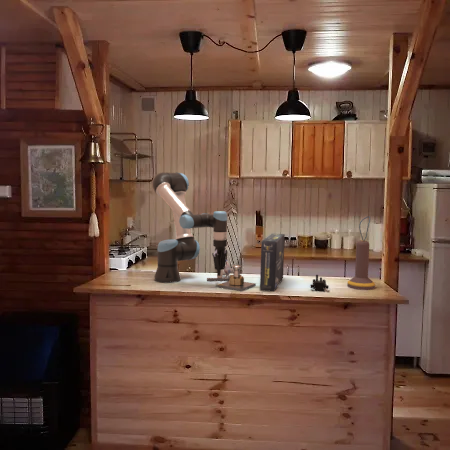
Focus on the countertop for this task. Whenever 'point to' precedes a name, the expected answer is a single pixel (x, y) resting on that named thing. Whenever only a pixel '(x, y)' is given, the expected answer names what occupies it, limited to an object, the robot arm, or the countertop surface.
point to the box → (272, 262)
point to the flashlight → (362, 266)
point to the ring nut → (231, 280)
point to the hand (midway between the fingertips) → (219, 281)
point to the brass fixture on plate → (236, 287)
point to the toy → (319, 284)
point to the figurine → (227, 269)
